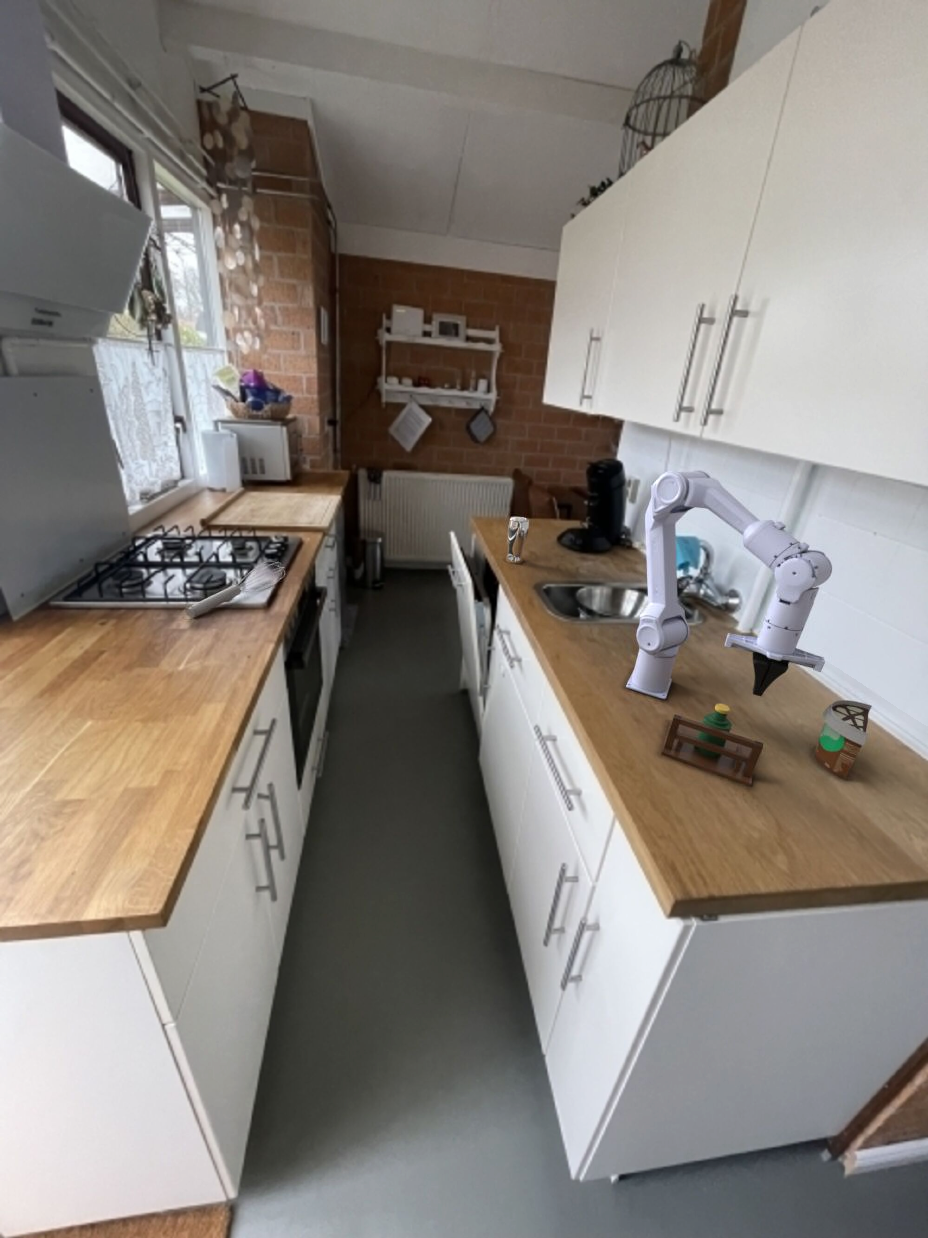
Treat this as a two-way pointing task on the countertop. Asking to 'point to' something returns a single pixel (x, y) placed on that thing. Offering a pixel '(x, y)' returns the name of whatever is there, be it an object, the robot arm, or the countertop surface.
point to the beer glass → (516, 538)
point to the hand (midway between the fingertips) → (757, 693)
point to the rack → (734, 755)
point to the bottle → (716, 721)
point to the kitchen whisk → (223, 596)
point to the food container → (842, 736)
